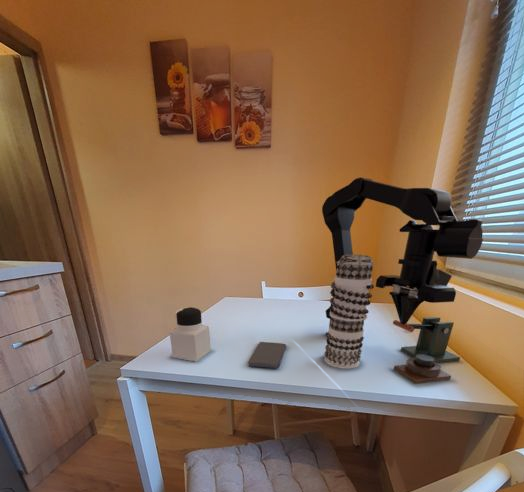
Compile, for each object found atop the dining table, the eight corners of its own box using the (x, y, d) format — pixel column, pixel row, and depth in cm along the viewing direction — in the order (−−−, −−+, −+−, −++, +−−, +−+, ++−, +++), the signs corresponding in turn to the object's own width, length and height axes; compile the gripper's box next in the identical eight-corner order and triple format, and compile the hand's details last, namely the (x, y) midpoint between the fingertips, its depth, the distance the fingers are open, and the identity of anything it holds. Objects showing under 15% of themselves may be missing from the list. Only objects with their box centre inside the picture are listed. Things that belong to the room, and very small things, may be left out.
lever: (408, 334, 64) (411, 324, 64) (391, 326, 70) (394, 317, 69) (449, 335, 68) (452, 326, 67) (430, 328, 73) (433, 319, 72)
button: (422, 369, 60) (424, 361, 59) (410, 362, 63) (412, 355, 62) (436, 367, 60) (438, 360, 60) (423, 360, 64) (425, 353, 63)
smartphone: (286, 343, 77) (278, 365, 64) (286, 346, 78) (278, 369, 64) (259, 341, 79) (246, 362, 65) (259, 344, 79) (246, 366, 65)
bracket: (425, 365, 67) (435, 327, 64) (400, 351, 75) (408, 316, 72) (459, 361, 70) (471, 324, 66) (431, 348, 78) (440, 314, 74)
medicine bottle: (211, 351, 74) (208, 307, 69) (196, 362, 67) (192, 314, 63) (188, 347, 76) (183, 304, 71) (172, 357, 70) (166, 311, 65)
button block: (414, 385, 59) (418, 372, 57) (393, 370, 65) (395, 358, 64) (449, 380, 61) (453, 368, 59) (425, 366, 67) (428, 355, 66)
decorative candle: (345, 351, 74) (359, 253, 65) (369, 366, 66) (389, 256, 57) (315, 356, 71) (325, 254, 62) (336, 372, 64) (351, 257, 54)
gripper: (489, 258, 54) (464, 334, 60) (418, 252, 71) (405, 311, 77) (441, 259, 52) (421, 337, 58) (379, 252, 68) (369, 313, 74)
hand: (403, 323), depth 67 cm, fingers closed
